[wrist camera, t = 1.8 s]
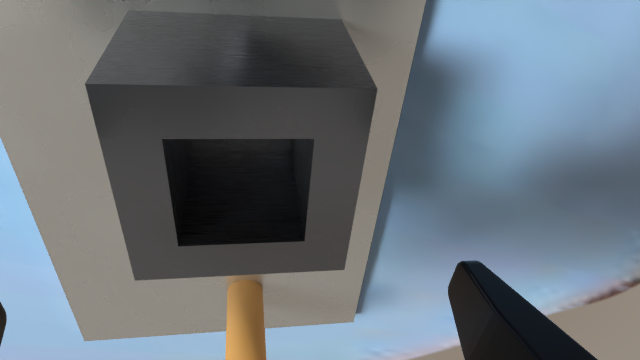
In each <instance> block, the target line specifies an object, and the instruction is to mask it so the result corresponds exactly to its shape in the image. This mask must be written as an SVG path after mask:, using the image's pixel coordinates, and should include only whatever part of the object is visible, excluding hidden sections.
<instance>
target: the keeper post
mask: <svg viewBox="0 0 640 360" xmlns="http://www.w3.org/2000/svg"><path fill="white" fill-rule="evenodd" d="M226 360H266V345H265V325H264V305H263V289H262V286H261V285H260V284H259V283H257V282H255V281H251V280H242V281H238V282H235V283H233V284H232V285H231V286H230V287H229V288H228V291H227V325H226Z"/></svg>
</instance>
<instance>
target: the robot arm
mask: <svg viewBox="0 0 640 360" xmlns="http://www.w3.org/2000/svg"><path fill="white" fill-rule="evenodd" d="M448 295H449V300H450V304H451V308H452V312H453V316H454V320H455V324H456V327H457V331H458V335H459V339H460V343H461V347H462V351H463V355H464V358H465V360H597V359H596V358H595V357H594V356H593V355H591V354H590V353H589V352H588V351H587V350H585V349H584V348H583V347H582V346H580V345H579V344H578V343H577V342H576V341H575V340H573V339H572V338H571V337H570V336H569V335H567V334H566V333H565V332H564V331H563V330H561V329H560V328H559V327H558V326H557V325H555V324H554V323H553V322H552V321H551V320H549V319H548V318H547V317H546V316H545V315H543V314H542V313H541V312H540V311H539V310H537V309H536V308H535V307H534V306H533V305H531V304H530V303H529V302H528V301H527V300H525V299H524V298H523V297H522V296H521V295H519V294H518V293H517V292H516V291H515V290H513V289H512V288H511V287H510V286H509V285H507V284H506V283H505V282H504V281H503V280H501V279H500V278H499V277H498V276H497V275H495V274H494V273H493V272H492V271H491V270H489V269H488V268H487V267H486V266H485V265H483V264H482V263H481V262H479V261H461V262H460V263H458V264H457V266H456V269H455V271H454V274H453V276H452V279H451V281H450V283H449V287H448ZM5 326H6V312H5V310H4V308H3V306H2V304H1V302H0V345H1V341H2V338H3V334H4V330H5Z"/></svg>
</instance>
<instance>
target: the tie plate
mask: <svg viewBox="0 0 640 360" xmlns="http://www.w3.org/2000/svg"><path fill="white" fill-rule="evenodd" d="M425 3H426V0H0V137H1V139H2V142H3V144H4V147H5V149H6V152H7V154H8V156H9V159H10V161H11V164H12V166H13V169H14V171H15V173H16V176H17V178H18V181H19V183H20V186H21V188H22V190H23V193H24V195H25V198H26V200H27V203H28V205H29V207H30V210H31V212H32V215H33V217H34V219H35V222H36V224H37V227H38V229H39V232H40V234H41V236H42V239H43V241H44V244H45V246H46V249H47V251H48V253H49V256H50V258H51V261H52V263H53V266H54V268H55V270H56V273H57V275H58V278H59V280H60V283H61V285H62V287H63V290H64V292H65V295H66V297H67V300H68V302H69V304H70V307H71V309H72V312H73V314H74V317H75V319H76V321H77V324H78V326H79V329H80V331H81V334H82V336H83V338H84V341H93V340H107V339H121V338H135V337H149V336H163V335H177V334H191V333H205V332H220V331H226V325H227V291H228V288H229V287H230V286H231V285H232V284H233V283H235V282H238V281H242V280H251V281H255V282H257V283H259V284H260V285H261V286H262V289H263V305H264V325H265V328H276V327H290V326H304V325H318V324H332V323H346V322H354V317H355V313H356V309H357V304H358V300H359V295H360V291H361V286H362V282H363V278H364V273H365V269H366V264H367V260H368V256H369V251H370V247H371V242H372V238H373V233H374V229H375V225H376V220H377V216H378V211H379V207H380V202H381V198H382V194H383V189H384V185H385V180H386V176H387V172H388V167H389V163H390V158H391V154H392V149H393V145H394V141H395V136H396V132H397V127H398V123H399V118H400V114H401V110H402V105H403V101H404V96H405V92H406V87H407V83H408V79H409V74H410V70H411V65H412V61H413V57H414V52H415V48H416V43H417V39H418V34H419V30H420V26H421V21H422V17H423V12H424V8H425ZM128 10H135V11H159V12H182V13H205V14H229V15H252V16H275V17H299V18H322V19H342V21H343V23H344V25H345V27H346V29H347V31H348V33H349V35H350V37H351V39H352V41H353V43H354V44H355V46H356V48H357V50H358V52H359V54H360V56H361V58H362V60H363V62H364V64H365V66H366V67H367V69H368V71H369V73H370V75H371V77H372V79H373V81H374V83H375V85H376V87H377V95H376V100H375V106H374V111H373V117H372V122H371V128H370V133H369V139H368V144H367V149H366V155H365V160H364V166H363V171H362V177H361V182H360V188H359V193H358V199H357V204H356V209H355V215H354V220H353V226H352V231H351V237H350V242H349V248H348V253H347V259H346V264H345V269H344V270H333V271H314V272H294V273H275V274H255V275H236V276H216V277H197V278H177V279H158V280H138V281H135V279H134V275H133V272H132V268H131V264H130V260H129V256H128V252H127V248H126V244H125V240H124V236H123V232H122V228H121V224H120V220H119V216H118V212H117V209H116V205H115V201H114V197H113V193H112V189H111V185H110V181H109V177H108V173H107V169H106V165H105V161H104V157H103V153H102V149H101V146H100V142H99V138H98V134H97V130H96V126H95V122H94V118H93V114H92V110H91V106H90V102H89V98H88V94H87V90H86V86H85V83H86V81H87V79H88V78H89V76H90V74H91V73H92V71H93V69H94V67H95V66H96V64H97V62H98V61H99V59H100V57H101V56H102V54H103V52H104V51H105V49H106V47H107V46H108V44H109V42H110V41H111V39H112V37H113V35H114V34H115V32H116V30H117V29H118V27H119V25H120V24H121V22H122V20H123V19H124V17H125V15H126V14H127V12H128ZM191 146H192V151H242V150H290V148H291V139H191Z"/></svg>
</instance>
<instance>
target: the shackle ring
mask: <svg viewBox="0 0 640 360" xmlns="http://www.w3.org/2000/svg"><path fill="white" fill-rule="evenodd" d="M85 86H86V90H87V94H88V98H89V102H90V106H91V110H92V114H93V118H94V122H95V126H96V130H97V134H98V138H99V142H100V146H101V149H102V153H103V157H104V161H105V165H106V169H107V173H108V177H109V181H110V185H111V189H112V193H113V197H114V201H115V205H116V209H117V212H118V216H119V220H120V224H121V228H122V232H123V236H124V240H125V244H126V248H127V252H128V256H129V260H130V264H131V268H132V272H133V275H134V279H135V281H138V280H158V279H177V278H197V277H216V276H236V275H255V274H275V273H294V272H314V271H333V270H344V269H345V264H346V259H347V253H348V248H349V242H350V237H351V231H352V226H353V220H354V215H355V209H356V204H357V199H358V193H359V188H360V182H361V177H362V171H363V166H364V160H365V155H366V149H367V144H368V139H369V133H370V128H371V122H372V117H373V111H374V106H375V100H376V95H377V87H376V85H375V83H374V81H373V79H372V77H371V75H370V73H369V71H368V69H367V67H366V66H365V64H364V62H363V60H362V58H361V56H360V54H359V52H358V50H357V48H356V46H355V44H354V43H353V41H352V39H351V37H350V35H349V33H348V31H347V29H346V27H345V25H344V23H343V21H342V19H322V18H299V17H275V16H252V15H229V14H205V13H182V12H159V11H135V10H128V12H127V14H126V15H125V17H124V19H123V20H122V22H121V24H120V25H119V27H118V29H117V30H116V32H115V34H114V35H113V37H112V39H111V41H110V42H109V44H108V46H107V47H106V49H105V51H104V52H103V54H102V56H101V57H100V59H99V61H98V62H97V64H96V66H95V67H94V69H93V71H92V73H91V74H90V76H89V78H88V79H87V81H86V83H85ZM191 139H291V148H290V150H242V151H192V146H191Z"/></svg>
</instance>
